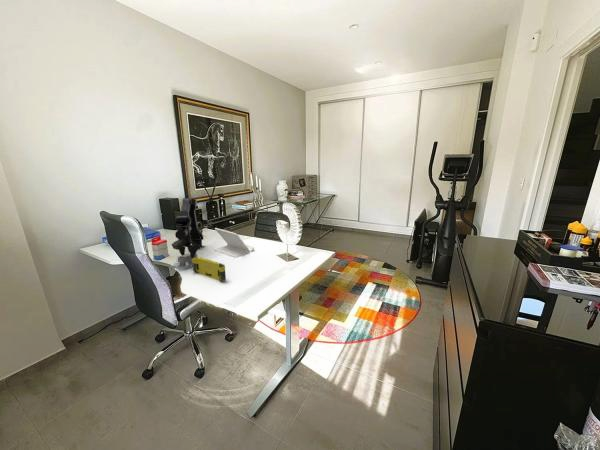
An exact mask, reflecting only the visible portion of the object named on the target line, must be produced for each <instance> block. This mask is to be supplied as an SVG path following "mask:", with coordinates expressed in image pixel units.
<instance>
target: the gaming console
mask: <svg viewBox="0 0 600 450" xmlns="http://www.w3.org/2000/svg"><path fill="white" fill-rule="evenodd" d="M192 265H193V266H192V270H193V272H194V273H196V274H200V275H203V276H206V277H209V278H212V279H214V280H217V281H220V282H224V281H225V280H226V279H227V278H226V277H227V276H226V265H225V264H224V263H221V262H218V261H214V260H211V259H208V258H205V257H201V256H199V255H198V256H196V257H193V258H192Z"/></svg>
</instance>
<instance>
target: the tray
mask: <svg viewBox="0 0 600 450" xmlns="http://www.w3.org/2000/svg"><path fill="white" fill-rule="evenodd" d="M197 256H198V257H199V255H198V254H197ZM171 267H172V268H175V269H177V270H180V271H186V270H187V269H189V268H193V265H192V263H191V264H188V262H186V266H182V265H180V262H178V258H176V263H173V264H171Z"/></svg>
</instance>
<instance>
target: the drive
mask: <svg viewBox="0 0 600 450" xmlns="http://www.w3.org/2000/svg"><path fill="white" fill-rule="evenodd" d="M197 255H198V253H197V252H196V254H195V257H196V256H197ZM177 259H178V262H180V265H182V266H186V262H188V264H191V263H192V259H191V255H190V252H187V253H185V255H179V256H177Z"/></svg>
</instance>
